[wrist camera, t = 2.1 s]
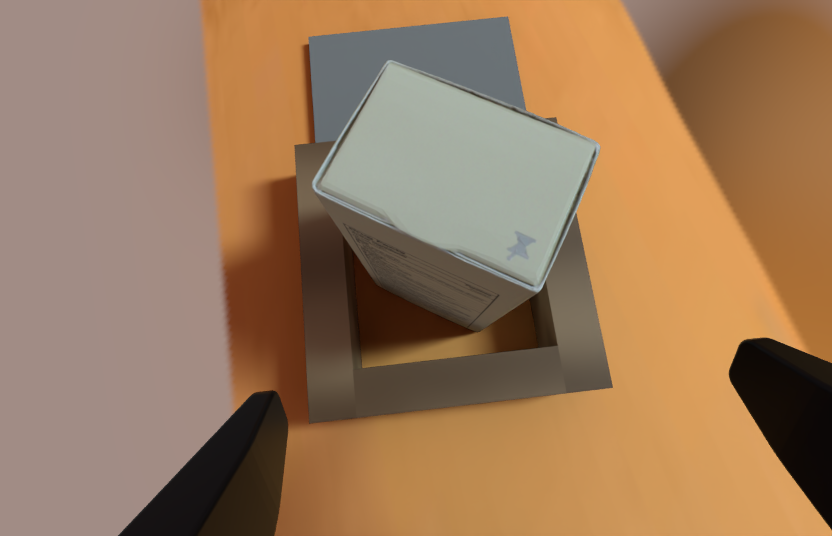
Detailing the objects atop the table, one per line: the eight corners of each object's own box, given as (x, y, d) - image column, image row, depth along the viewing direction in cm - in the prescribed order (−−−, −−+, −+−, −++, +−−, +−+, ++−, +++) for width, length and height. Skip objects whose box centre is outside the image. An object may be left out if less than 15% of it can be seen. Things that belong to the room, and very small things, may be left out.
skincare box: (511, 261, 22) (621, 144, 10) (478, 335, 21) (554, 303, 9) (403, 211, 23) (386, 46, 11) (367, 282, 22) (303, 186, 10)
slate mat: (528, 140, 23) (531, 136, 23) (318, 163, 23) (316, 159, 23) (506, 23, 25) (507, 16, 25) (310, 43, 25) (308, 36, 25)
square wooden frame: (585, 383, 21) (612, 387, 18) (325, 414, 20) (309, 423, 17) (538, 147, 23) (555, 117, 20) (310, 172, 23) (294, 145, 20)
